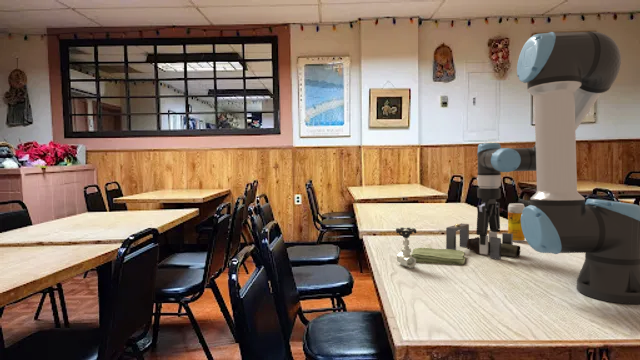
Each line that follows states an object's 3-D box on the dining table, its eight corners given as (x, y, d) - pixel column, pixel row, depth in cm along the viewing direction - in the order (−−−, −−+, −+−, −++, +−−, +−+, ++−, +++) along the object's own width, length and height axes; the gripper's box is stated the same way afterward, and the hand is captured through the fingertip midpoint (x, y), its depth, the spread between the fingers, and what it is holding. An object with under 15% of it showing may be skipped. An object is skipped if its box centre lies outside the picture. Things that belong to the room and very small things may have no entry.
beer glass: (504, 240, 165) (504, 203, 164) (515, 238, 167) (515, 202, 166) (517, 243, 159) (517, 205, 158) (528, 241, 162) (528, 204, 161)
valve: (401, 270, 125) (401, 231, 124) (392, 264, 131) (391, 228, 130) (420, 268, 127) (420, 230, 126) (410, 263, 133) (410, 226, 132)
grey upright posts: (499, 259, 135) (499, 232, 134) (446, 251, 148) (446, 226, 148) (512, 253, 143) (512, 227, 143) (461, 245, 157) (461, 222, 156)
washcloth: (465, 267, 128) (466, 257, 128) (409, 263, 134) (409, 253, 134) (464, 257, 141) (464, 248, 140) (412, 254, 146) (412, 245, 146)
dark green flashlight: (520, 256, 139) (521, 240, 139) (514, 261, 134) (514, 244, 134) (470, 249, 151) (470, 234, 151) (462, 253, 146) (462, 237, 146)
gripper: (489, 184, 152) (489, 245, 153) (465, 188, 138) (465, 255, 139) (510, 185, 146) (510, 248, 148) (487, 189, 132) (487, 259, 134)
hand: (488, 251), depth 143 cm, fingers open, 7 cm apart
